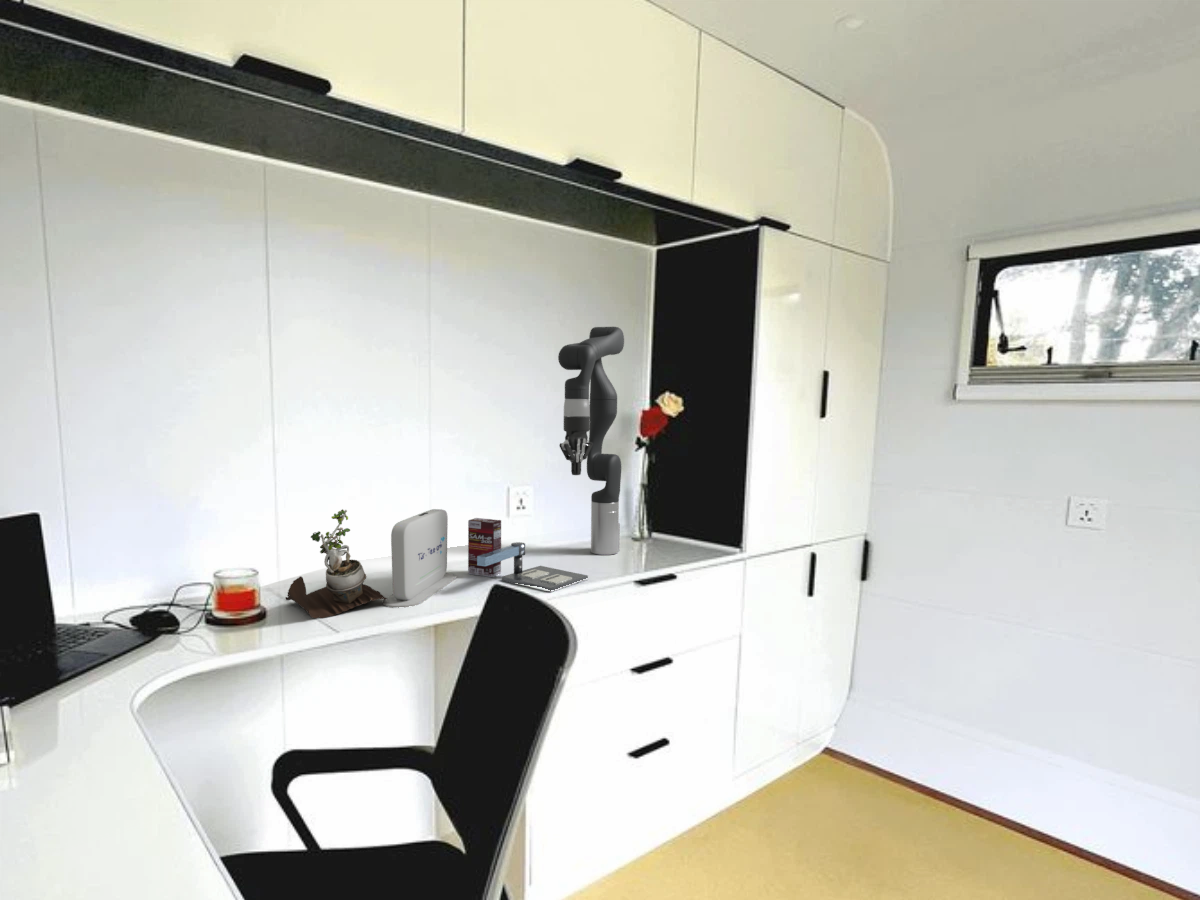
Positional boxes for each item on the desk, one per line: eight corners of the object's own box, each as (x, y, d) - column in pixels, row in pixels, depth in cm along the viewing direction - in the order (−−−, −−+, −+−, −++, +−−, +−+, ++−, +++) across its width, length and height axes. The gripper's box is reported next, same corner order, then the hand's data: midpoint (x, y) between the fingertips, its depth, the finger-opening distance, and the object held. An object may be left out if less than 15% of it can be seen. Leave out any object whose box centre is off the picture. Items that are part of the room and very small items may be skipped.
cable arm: (516, 552, 183) (516, 541, 183) (527, 553, 181) (527, 543, 181) (475, 566, 166) (475, 554, 166) (487, 567, 164) (487, 556, 164)
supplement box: (467, 574, 183) (467, 520, 182) (476, 570, 187) (476, 517, 186) (493, 577, 179) (493, 522, 178) (501, 573, 184) (502, 519, 183)
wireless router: (414, 609, 151) (413, 526, 150) (375, 606, 152) (374, 524, 151) (461, 575, 182) (460, 506, 181) (428, 573, 183) (427, 505, 182)
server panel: (538, 569, 190) (538, 548, 189) (587, 579, 178) (588, 558, 178) (499, 580, 177) (499, 558, 176) (550, 592, 166) (550, 569, 165)
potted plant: (395, 611, 155) (375, 520, 146) (319, 650, 143) (291, 554, 134) (358, 581, 168) (338, 497, 159) (286, 615, 156) (259, 526, 147)
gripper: (580, 414, 190) (580, 472, 191) (551, 414, 179) (551, 475, 180) (600, 415, 185) (600, 474, 186) (572, 415, 175) (571, 477, 176)
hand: (576, 474), depth 183 cm, fingers closed
